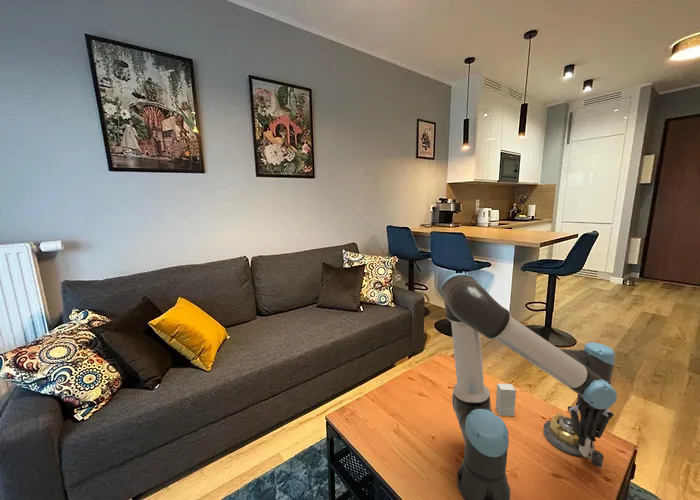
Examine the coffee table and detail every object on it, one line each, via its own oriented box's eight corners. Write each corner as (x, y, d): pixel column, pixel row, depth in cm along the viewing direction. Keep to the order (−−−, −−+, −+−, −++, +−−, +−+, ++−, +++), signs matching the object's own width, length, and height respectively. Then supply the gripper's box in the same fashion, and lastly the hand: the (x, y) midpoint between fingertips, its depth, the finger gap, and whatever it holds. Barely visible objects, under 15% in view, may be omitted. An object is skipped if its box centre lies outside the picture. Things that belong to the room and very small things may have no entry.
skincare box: (510, 409, 127) (512, 383, 125) (514, 416, 123) (516, 390, 121) (495, 408, 128) (496, 383, 125) (498, 415, 123) (500, 389, 121)
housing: (584, 464, 101) (587, 444, 99) (536, 436, 113) (537, 418, 111) (599, 442, 109) (602, 424, 108) (553, 418, 121) (555, 401, 120)
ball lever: (616, 466, 97) (618, 455, 96) (584, 468, 97) (585, 457, 96) (571, 422, 116) (572, 412, 115) (543, 423, 116) (544, 414, 115)
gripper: (606, 384, 100) (595, 445, 104) (565, 382, 101) (556, 443, 106) (624, 399, 93) (612, 464, 97) (579, 397, 94) (570, 461, 98)
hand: (583, 453), depth 101 cm, fingers closed
